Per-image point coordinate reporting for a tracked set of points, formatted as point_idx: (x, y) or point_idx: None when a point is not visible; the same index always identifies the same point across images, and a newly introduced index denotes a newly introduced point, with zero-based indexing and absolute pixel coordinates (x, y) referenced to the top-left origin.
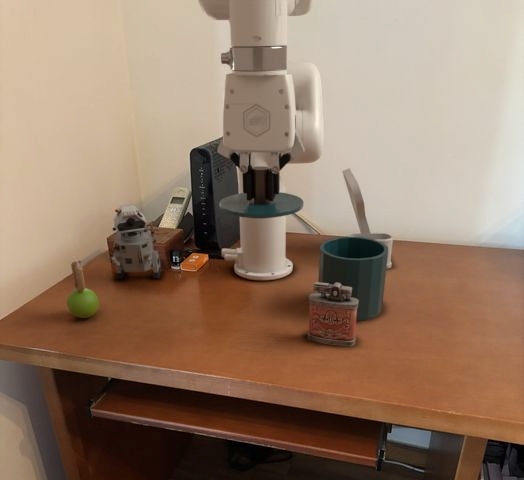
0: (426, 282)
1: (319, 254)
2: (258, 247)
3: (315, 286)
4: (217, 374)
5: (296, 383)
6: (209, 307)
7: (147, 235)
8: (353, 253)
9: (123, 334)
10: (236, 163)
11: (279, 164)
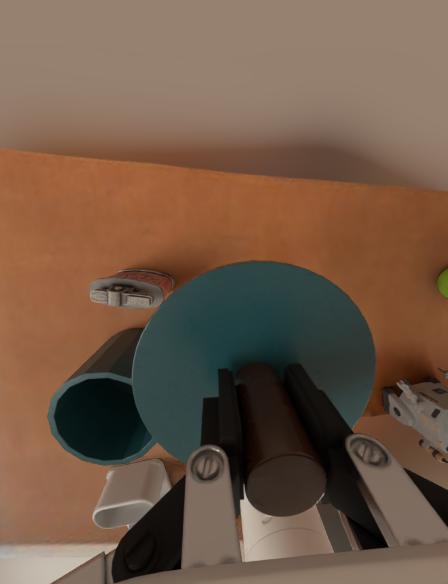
0: None
1: None
2: None
3: (148, 296)
4: (257, 176)
5: (165, 174)
6: None
7: (442, 437)
8: (123, 437)
9: (388, 246)
10: (423, 484)
11: (185, 499)
